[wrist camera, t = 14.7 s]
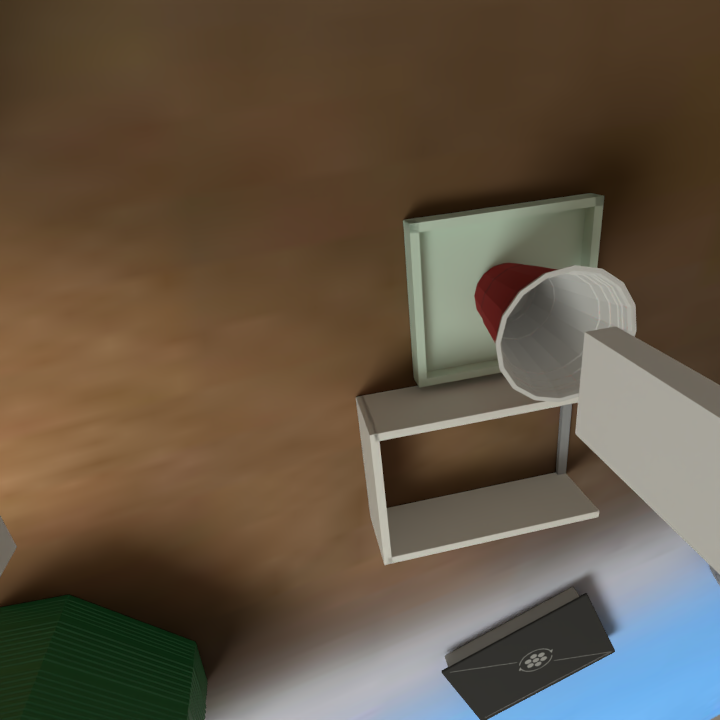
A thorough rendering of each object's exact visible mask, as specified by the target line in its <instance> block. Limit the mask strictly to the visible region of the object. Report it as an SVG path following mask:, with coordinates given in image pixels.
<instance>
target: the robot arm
mask: <svg viewBox="0 0 720 720" xmlns="http://www.w3.org/2000/svg"><path fill="white" fill-rule="evenodd" d="M575 434H576V435H577V436H578V437H579V438H580V439H581V440H582V441H583V442H584V443H585V444H586V445H587V446H588V447H589V448H590V449H591V450H592V451H593V452H594V453H595V454H597V455H598V456H599V457H600V458H601V459H602V460H603V461H604V462H605V463H606V464H607V465H608V466H609V467H610V468H611V469H612V470H613V471H614V472H615V473H616V474H617V475H618V476H619V477H620V478H621V479H622V480H623V481H624V482H625V483H626V484H627V485H628V486H629V487H630V488H631V489H632V490H633V491H634V492H635V493H637V494H638V495H639V496H640V497H641V498H642V499H643V500H644V501H645V502H646V503H647V504H648V505H649V506H650V507H651V508H652V509H653V510H654V511H655V512H656V513H657V514H658V515H659V516H660V517H661V518H662V519H663V520H664V521H665V522H666V523H667V524H668V525H669V526H670V527H671V528H672V529H673V530H674V531H675V532H677V533H678V534H679V535H680V536H681V537H682V538H683V539H684V540H685V541H686V542H687V543H688V544H689V545H690V546H691V547H692V548H693V549H694V550H695V551H696V552H697V553H698V554H699V555H700V556H701V557H702V558H703V559H704V560H705V561H706V562H707V563H708V564H709V565H710V566H711V567H712V568H713V569H714V570H715V571H717V572H718V573H719V574H720V385H718V384H717V383H715V382H713V381H711V380H710V379H708V378H706V377H704V376H703V375H701V374H699V373H697V372H695V371H694V370H692V369H690V368H688V367H687V366H685V365H683V364H681V363H680V362H678V361H676V360H674V359H673V358H671V357H669V356H667V355H666V354H664V353H662V352H660V351H658V350H657V349H655V348H653V347H651V346H650V345H648V344H646V343H644V342H643V341H641V340H639V339H637V338H636V337H634V336H632V335H630V334H629V333H627V332H625V331H623V330H621V329H620V328H618V327H616V326H615V327H609V328H604V329H598V330H593V331H587V332H585V334H584V345H583V356H582V367H581V377H580V388H579V399H578V410H577V420H576V431H575ZM16 548H17V546H16V544H15V543H14V541H13V539H12V537H11V535H10V533H9V531H8V529H7V527H6V526H5V524H4V522H3V520H2V518H1V516H0V576H1V574H2V573H3V571H4V569H5V567H6V565H7V564H8V562H9V560H10V558H11V556H12V555H13V553H14V551H15V549H16Z"/></svg>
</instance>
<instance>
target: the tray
mask: <svg viewBox="0 0 720 720" xmlns="http://www.w3.org/2000/svg"><path fill="white" fill-rule="evenodd" d="M603 204H604V196H602V195H598V194H593V193H588V194H581V195H574V196H567V197H560V198H553V199H546V200H539V201H532V202H525V203H518V204H511V205H504V206H497V207H490V208H483V209H476V210H469V211H462V212H455V213H448V214H441V215H434V216H427V217H420V218H413V219H406V220H403V225H404V240H405V255H406V270H407V285H408V301H409V316H410V331H411V346H412V361H413V376H414V380H415V381H416V383H417V385H418V386H419V388H420V387H425V386H431V385H436V384H442V383H447V382H452V381H458V380H463V379H469V378H474V377H480V376H485V375H490V374H496V373H501V371H500V369H499V363H498V357H497V351H496V344H495V342H494V340H493V339H492V337H491V335H490V333H489V332H488V330H487V328H486V326H485V325H484V323H483V319H482V317H481V316H480V314H479V313H478V311H477V309H476V304H475V297H474V295H475V290H476V286H477V283H478V282H479V280H480V279H481V277H482V276H483V274H484V273H486V272H487V271H488V270H490V269H491V268H492V267H493V266H497V265H500V264H503V263H517V264H524V265H533V266H540V267H546V268H552V269H561V268H565V267H568V266H572V265H577V266H585V267H593V268H597V265H598V255H599V245H600V235H601V225H602V214H603Z"/></svg>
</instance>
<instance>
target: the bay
mask: <svg viewBox="0 0 720 720" xmlns="http://www.w3.org/2000/svg"><path fill="white" fill-rule="evenodd" d="M578 399H579V397H576V398H573V399H569V400H565V401H562V402H551V401H539V400H533V399H531V398H529V397H527V396H526V395H524V394H522V393H520V392H518V391H516V390H514V389H513V388H512V386H511V385H510V384H509V382H508V381H507V379H506V378H505V377H504V375H503V374H502V372H501V373H496V374H490V375H485V376H480V377H474V378H469V379H463V380H458V381H452V382H447V383H442V384H436V385H431V386H425V387H420V388H419V386H413V387H407V388H402V389H396V390H391V391H386V392H380V393H375V394H369V395H364V396H358V397H356V403H357V412H358V420H359V428H360V436H361V444H362V452H363V460H364V468H365V476H366V484H367V492H368V500H369V509H370V517H371V520H372V524H373V527H374V531H375V534H376V537H377V541H378V544H379V548H380V551H381V555H382V558H383V561H384V565H387V564H391V563H395V562H400V561H404V560H409V559H413V558H418V557H422V556H427V555H431V554H435V553H440V552H444V551H449V550H453V549H458V548H462V547H467V546H471V545H475V544H480V543H484V542H489V541H493V540H498V539H502V538H507V537H511V536H516V535H520V534H524V533H529V532H533V531H538V530H542V529H547V528H551V527H556V526H560V525H564V524H569V523H573V522H578V521H582V520H587V519H591V518H596V517H598V516H599V510H598V509H597V508H596V507H595V506H594V505H593V503H592V502H591V501H590V500H589V499H588V498H587V497H586V496H585V494H584V493H583V492H582V491H581V490H580V489H579V488H578V487H577V485H576V484H575V483H574V482H573V481H572V480H571V479H570V477H569V476H568V475H567V474H566V466H567V455H568V443H569V432H570V420H571V409H572V403H578ZM557 406H561V408H560V421H559V434H558V447H557V460H556V472H555V473H550V474H546V475H541V476H536V477H532V478H527V479H522V480H517V481H513V482H508V483H503V484H498V485H494V486H489V487H484V488H479V489H475V490H470V491H465V492H461V493H456V494H451V495H446V496H442V497H437V498H432V499H427V500H423V501H418V502H413V503H409V504H404V505H399V506H394V507H390V508H386V499H385V489H384V480H383V470H382V461H381V451H380V441H383V440H388V439H393V438H398V437H403V436H408V435H413V434H419V433H424V432H429V431H434V430H439V429H444V428H449V427H454V426H460V425H465V424H470V423H475V422H480V421H485V420H490V419H496V418H501V417H506V416H511V415H516V414H521V413H526V412H531V411H537V410H542V409H547V408H552V407H557Z"/></svg>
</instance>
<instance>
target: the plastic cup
mask: <svg viewBox="0 0 720 720" xmlns="http://www.w3.org/2000/svg"><path fill="white" fill-rule="evenodd" d="M474 297H475V304H476V309H477V311H478V313H479V314H480V316H481V317H482V319H483V323H484V325H485V326H486V328H487V330H488V332H489V333H490V335H491V337H492V339H493V340H494V342H495V344H496V351H497V357H498V363H499V369H500V371H501V372H502V374H503V375H504V377H505V378H506V379H507V381H508V382H509V384H510V385H511V386H512V388H513V389H514V390H516V391H518V392H520V393H522V394H524V395H526V396H527V397H529V398H531V399H533V400H539V401H551V402H562V401H565V400H569V399H573V398H576V397H579V388H580V377H581V367H582V356H583V345H584V334H585V332H587V331H593V330H598V329H604V328H609V327H615V326H616V327H618V328H620V329H621V330H623V331H625V332H627V333H629V334H630V335H632V336H635V333H636V306H635V303H634V301H633V299H632V298H631V296H630V294H629V292H628V290H627V288H626V286H625V284H624V283H623V282H622V281H620V280H619V279H617V278H616V277H614V276H613V275H611V274H610V273H608V272H607V271H605V270H604V269H601V268H593V267H585V266H577V265H572V266H568V267H565V268H561V269H552V268H546V267H540V266H533V265H524V264H517V263H503V264H500V265H497V266H493V267H492V268H491V269H490V270H488V271H487V272H486V273H484V274H483V276H482V277H481V279H480V280H479V282H478V283H477V286H476V290H475V295H474Z"/></svg>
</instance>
